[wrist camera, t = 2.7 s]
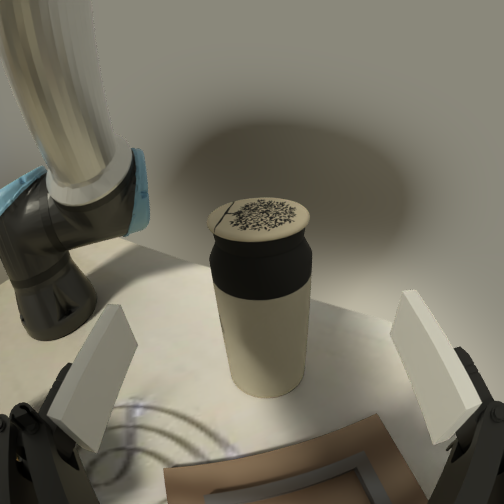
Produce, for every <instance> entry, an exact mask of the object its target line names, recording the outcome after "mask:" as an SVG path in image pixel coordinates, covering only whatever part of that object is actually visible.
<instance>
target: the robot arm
mask: <svg viewBox="0 0 504 504" xmlns="http://www.w3.org/2000/svg"><path fill="white" fill-rule="evenodd" d="M0 59H1V63H2V66H3V69H4V71H5V74H6V77H7V80H8V82H9V85H10V88H11V90H12V93H13V95H14V97H15V100H16V102H17V105H18V107H19V109H20V112H21V114H22V116H23V118H24V120H25V123H26V125H27V127H28V129H29V131H30V133H31V135H32V137H33V139H34V141H35V143H36V145H37V147H38V149H39V151H40V153H41V155H42V157H43V158H44V160H45V162H46V164H47V166H48V171H47V170H46V169H45V167H44V166H40V167H38V168H36V169H34V170H32V171H30V172H29V173H27V174H25V175H23V176H22V177H20V178H18V179H17V180H15V181H13V182H12V183H10V184H8V185H7V186H5V187H3V188H2V189H0V259H1V261H2V263H3V265H4V268H5V270H6V272H7V275H8V277H9V279H10V281H11V283H12V286H13V288H14V290H15V295H16V300H17V305H18V309H19V313H20V318H21V322H22V324H23V326H24V328H25V329H26V331H27V333H28V334H29V335H30V336H31V337H32V338H34V339H36V340H40V341H48V340H54V339H57V338H60V337H63V336H65V335H67V334H69V333H71V332H72V331H74V330H75V329H77V328H78V327H79V326H81V325H82V324H83V323H84V322H85V321H86V320H87V319H88V318H89V316H90V315H91V314H92V312H93V310H94V308H95V306H96V302H97V296H96V293H95V291H94V288H93V286H92V284H91V282H90V281H89V280H88V279H87V277H86V276H85V275H84V274H83V272H82V271H81V270H80V269H79V267H78V266H77V265H76V264H75V263H74V261H73V260H72V258H71V256H70V253H69V251H68V250H71V249H75V248H78V247H82V246H86V245H89V244H93V243H97V242H101V241H105V240H108V239H112V238H116V237H121V236H123V237H126V236H128V235H129V234H131V233H134V232H138V231H141V230H143V229H145V228H146V227H147V225H148V224H149V220H150V208H149V207H150V206H149V196H148V182H147V172H146V165H145V158H144V153H143V151H142V150H141V149H139V148H137V149H135V148H130V146H129V143H128V142H127V140H126V139H125V138H124V137H122V136H121V135H119V134H117V133H114V131H113V127H112V123H111V118H110V114H109V110H108V106H107V100H106V96H105V91H104V86H103V81H102V76H101V70H100V65H99V58H98V51H97V45H96V38H95V30H94V21H93V11H92V0H0ZM390 335H391V338H392V340H393V342H394V344H395V347H396V349H397V351H398V353H399V356H400V358H401V360H402V363H403V365H404V367H405V370H406V372H407V375H408V377H409V380H410V382H411V385H412V387H413V390H414V392H415V395H416V397H417V400H418V403H419V405H420V408H421V411H422V414H423V416H424V419H425V422H426V425H427V428H428V431H429V434H430V437H431V440H432V443H433V445H436V444H438V443H441V442H444V441H446V440H448V439H450V438H451V437H452V436H453V435H454V434H455V433H456V436H457V438H456V439H455V440H454V441H453V442H452V443H451V444H450V445H449V446H448V448H447V449H446V451H448V450H449V449H451V448H452V450H451V452H450V455H449V457H448V460H447V462H446V465H445V467H444V470H443V472H442V474H441V476H440V479H439V481H438V483H437V485H436V487H435V489H434V491H433V493H432V495H431V497H430V499H429V501H428V503H427V504H504V403H502V402H500V401H494V399H493V398H492V396H491V394H490V392H489V390H488V388H487V386H486V384H485V382H484V380H483V379H482V377H481V375H480V373H478V369H477V368H476V366H475V365H474V362H473V361H472V359H471V357H470V355H469V354H468V353H467V352H466V351H465V350H464V349H462V348H461V347H457V348H453V347H452V345H451V344H450V342H449V340H448V339H447V337H446V335H445V334H444V332H443V330H442V329H441V327H440V325H439V324H438V322H437V321H436V319H435V317H434V316H433V315H432V313H431V311H430V310H429V308H428V307H427V305H426V304H425V302H424V301H423V299H422V298H421V296H420V295H419V293H418V292H417V290H407V291H402V294H401V298H400V301H399V305H398V309H397V312H396V316H395V319H394V323H393V326H392V329H391V332H390ZM137 346H138V344H137V342H136V340H135V337H134V335H133V333H132V331H131V328H130V326H129V324H128V321H127V319H126V317H125V314H124V312H123V309H122V307H121V305H114V304H108V305H107V306H106V308H105V309H104V311H103V313H102V314H101V316H100V317H99V319H98V321H97V322H96V324H95V326H94V327H93V329H92V331H91V332H90V334H89V336H88V337H87V339H86V341H85V343H84V344H83V346H82V348H81V349H80V351H79V353H78V355H77V357H76V358H75V360H74V362H73V363H68V364H67V365H66V366H64V367H63V368H62V369H61V371H60V372H59V374H58V376H57V378H56V381H55V382H54V383H53V385H52V388H51V389H50V391H49V393H48V395H47V397H46V399H45V401H44V403H43V405H42V407H41V409H40V411H39V413H37V412H36V411H35V410H34V409H33V408H32V407H31V406H30V405H29V404H28V403H24V402H23V403H19V404H17V405H15V406H14V408H13V409H12V410H11V413H10V416H9V417H8V416H6V415H4V414H0V504H100V503H99V501H98V499H97V497H96V495H95V493H94V491H93V488H92V486H91V484H90V482H89V479H88V477H87V475H86V472H85V470H84V467H83V465H82V462H81V460H80V457H79V454H78V452H77V450H76V448H75V444H76V443H77V444H78V445H79V446H80V447H82V448H83V449H85V450H88V451H91V452H95V453H98V450H99V447H100V444H101V441H102V438H103V435H104V432H105V429H106V426H107V423H108V421H109V418H110V415H111V412H112V409H113V407H114V404H115V401H116V399H117V396H118V393H119V391H120V388H121V386H122V383H123V381H124V378H125V375H126V373H127V370H128V368H129V365H130V363H131V361H132V358H133V356H134V353H135V351H136V349H137ZM16 454H17V455H18V456H19V457H20V459H19V461H17V460H16Z"/></svg>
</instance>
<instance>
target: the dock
mask: <svg viewBox="0 0 504 504" xmlns="http://www.w3.org/2000/svg"><path fill="white" fill-rule="evenodd" d="M163 470H164V479H165V487H166V494H167V501H168V504H427V503H428V499H427V498H426V496H425V494H424V492H423V491H422V489H421V487H420V485H419V484H418V482H417V480H416V478H415V477H414V475H413V473H412V472H411V470H410V468H409V466H408V465H407V463H406V461H405V460H404V458H403V456H402V455H401V453H400V451H399V450H398V448H397V446H396V444H395V443H394V441H393V439H392V438H391V436H390V434H389V433H388V431H387V429H386V428H385V426H384V424H383V423H382V421H381V419H380V418H379V416H378V415H377V414H374V415H372V416H370V417H368V418H366V419H363V420H361V421H359V422H356V423H354V424H351V425H349V426H347V427H344V428H342V429H339V430H336V431H334V432H331V433H328V434H325V435H323V436H320V437H317V438H314V439H311V440H308V441H305V442H302V443H298V444H295V445H292V446H288V447H285V448H281V449H277V450H274V451H270V452H266V453H262V454H257V455H253V456H248V457H244V458H239V459H234V460H228V461H222V462H216V463H210V464H202V465H194V466H185V467H175V468H163Z"/></svg>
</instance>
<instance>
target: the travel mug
mask: <svg viewBox="0 0 504 504" xmlns="http://www.w3.org/2000/svg"><path fill="white" fill-rule="evenodd" d="M309 220H310V214H309V212H308V210H307V209H306V208H305V207H303V206H302V205H300V204H298V203H296V202H293V201H290V200H285V199H279V198H251V199H244V200H239V201H235V202H231V203H228V204H225V205H223V206H221V207H219V208H217V209H216V210H214V211H213V212H212V213H211V214H210V215H209V217H208V219H207V226H208V228H209V230H210V231H211V232H212V233H213V235H214V238H215V244H214V247H213V249H212V252H211V254H210V258H209V261H210V267H211V273H212V278H213V284H214V290H215V295H216V301H217V306H218V311H219V317H220V322H221V327H222V332H223V337H224V342H225V347H226V352H227V357H228V362H229V367H230V371H231V376H232V379H233V381H234V383H235V384H236V386H237V387H238V388H239V389H240V390H242V391H243V392H245V393H246V394H249V395H251V396H254V397H259V398H274V397H278V396H282V395H284V394H286V393H288V392H290V391H291V390H293V389H294V388H295V387H296V386H297V385H298V384H299V383H300V381H301V379H302V377H303V374H304V367H305V357H306V346H307V334H308V321H309V307H310V290H311V270H312V251H311V248H310V246H309V244H308V243H307V241H306V239H305V237H304V231H305V227H306V225H307V224H308V222H309Z"/></svg>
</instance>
